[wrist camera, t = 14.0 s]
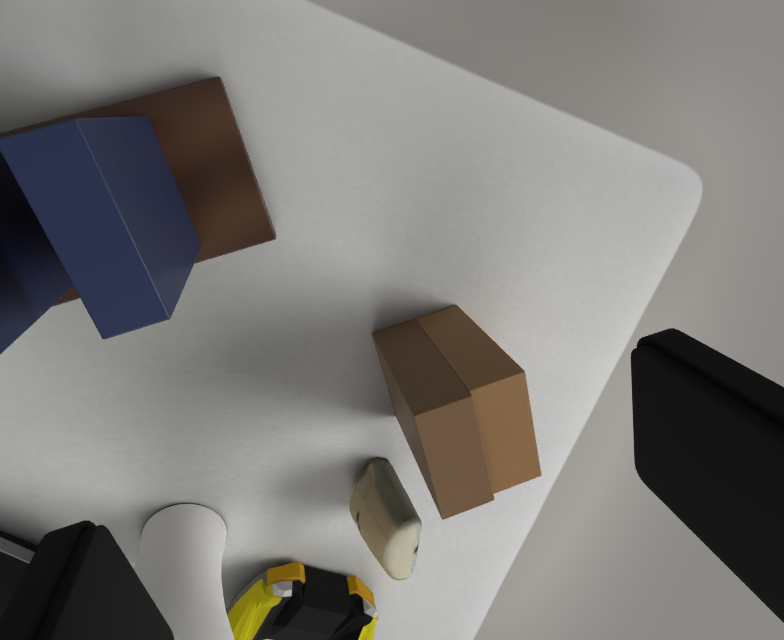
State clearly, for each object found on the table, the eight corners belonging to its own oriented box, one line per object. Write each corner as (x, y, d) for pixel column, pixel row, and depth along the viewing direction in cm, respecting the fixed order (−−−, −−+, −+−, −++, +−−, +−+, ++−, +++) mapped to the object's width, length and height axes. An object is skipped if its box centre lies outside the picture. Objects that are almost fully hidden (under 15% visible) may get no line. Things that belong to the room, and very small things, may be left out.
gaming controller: (346, 654, 52) (396, 581, 50) (355, 712, 47) (411, 633, 45) (199, 627, 46) (249, 543, 44) (192, 690, 41) (248, 598, 39)
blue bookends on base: (-96, 159, 29) (-378, 196, 16) (220, 77, 31) (193, 52, 18) (2, 317, 33) (-160, 447, 20) (276, 235, 35) (285, 305, 22)
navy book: (99, 128, 30) (-7, 139, 18) (148, 116, 30) (76, 117, 18) (158, 259, 33) (102, 340, 21) (202, 246, 33) (170, 319, 21)
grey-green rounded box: (417, 490, 46) (446, 560, 39) (367, 520, 46) (387, 596, 39) (387, 447, 44) (413, 513, 36) (334, 479, 44) (349, 552, 36)
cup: (242, 471, 41) (235, 622, 29) (258, 569, 45) (258, 738, 33) (99, 495, 39) (26, 668, 27) (129, 596, 43) (78, 787, 31)
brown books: (371, 332, 39) (413, 416, 29) (456, 304, 40) (529, 375, 29) (396, 416, 43) (442, 520, 32) (474, 389, 44) (545, 480, 33)
